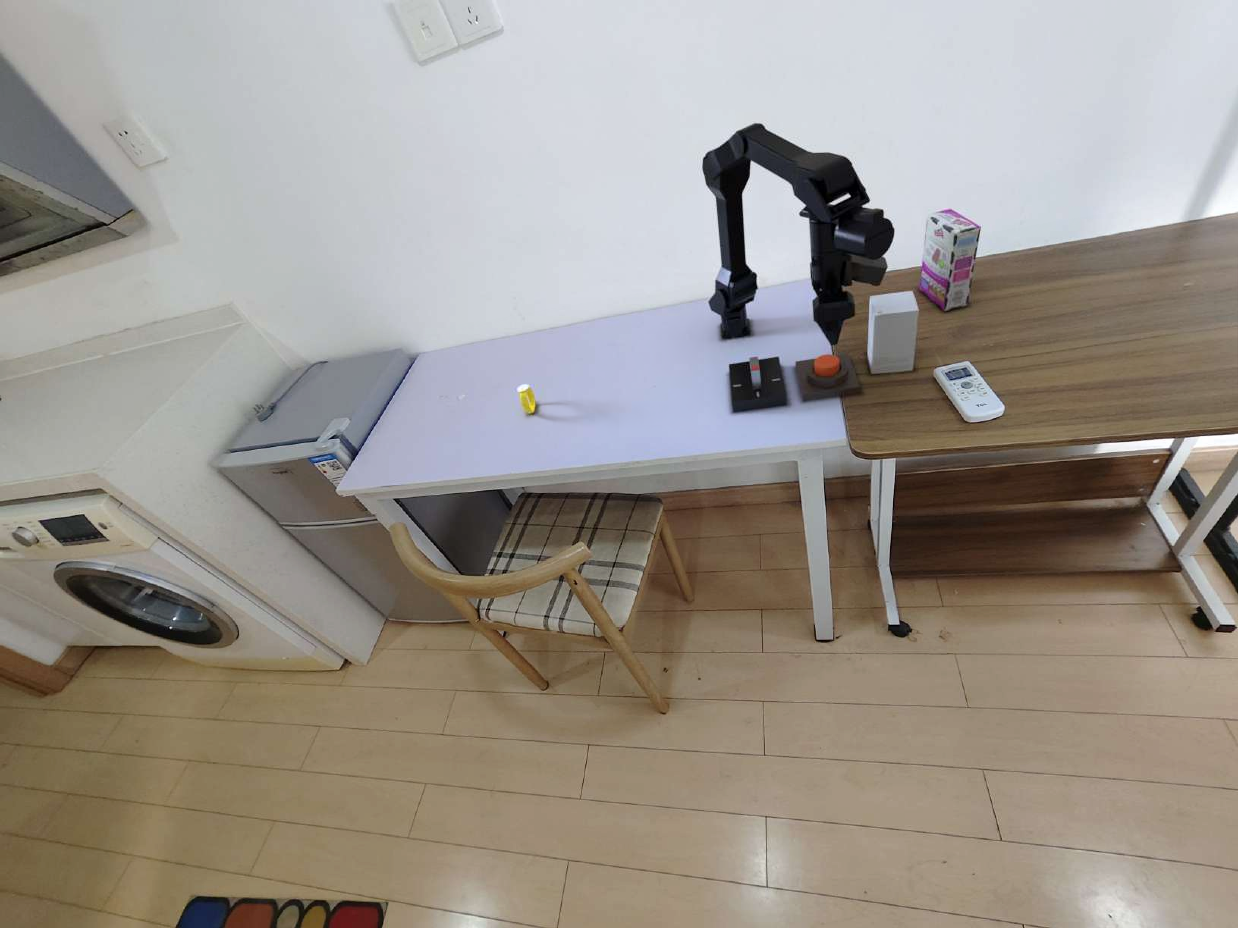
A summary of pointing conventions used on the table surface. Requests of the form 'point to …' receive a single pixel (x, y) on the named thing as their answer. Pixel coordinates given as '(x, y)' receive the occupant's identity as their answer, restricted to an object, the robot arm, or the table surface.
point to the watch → (523, 392)
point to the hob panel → (770, 384)
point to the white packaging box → (892, 332)
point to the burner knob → (755, 373)
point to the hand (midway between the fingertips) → (832, 330)
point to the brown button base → (827, 380)
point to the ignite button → (826, 365)
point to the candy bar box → (949, 258)
